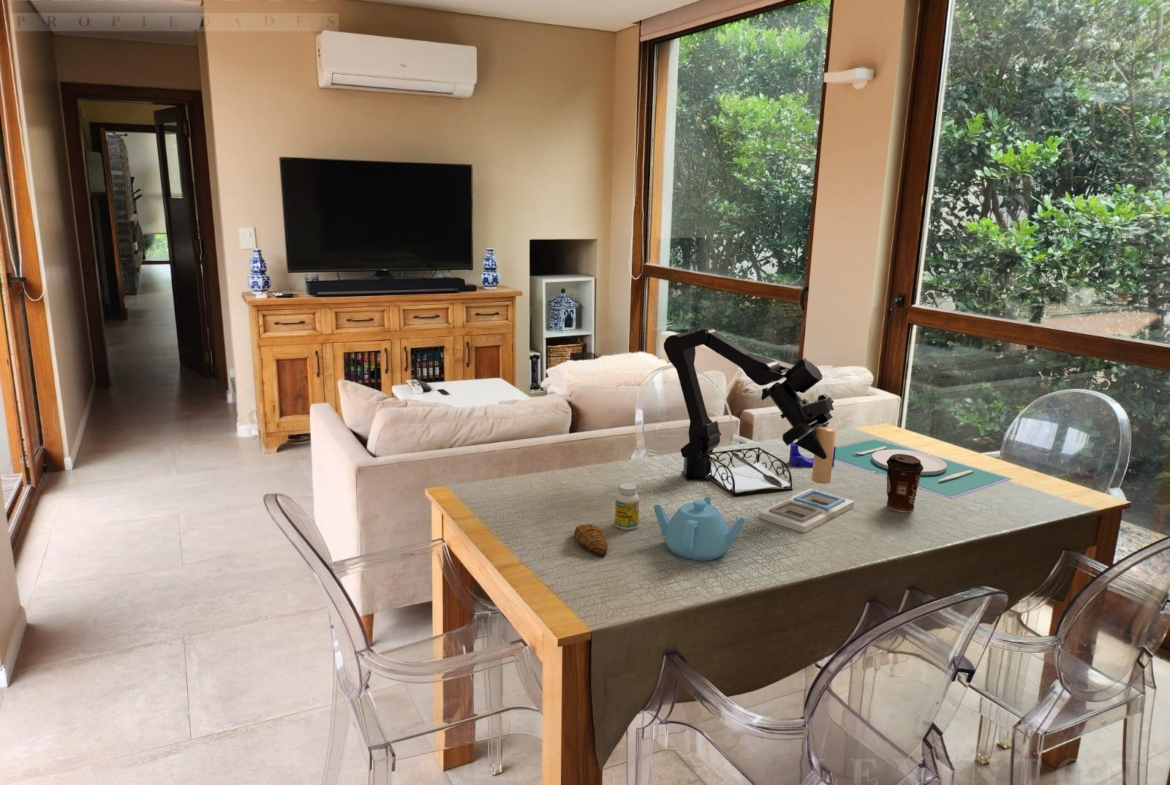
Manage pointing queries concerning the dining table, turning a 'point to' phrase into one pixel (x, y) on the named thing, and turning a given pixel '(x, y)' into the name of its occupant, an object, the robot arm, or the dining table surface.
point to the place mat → (934, 476)
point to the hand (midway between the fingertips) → (829, 456)
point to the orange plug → (824, 466)
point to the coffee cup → (902, 482)
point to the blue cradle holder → (802, 458)
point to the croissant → (591, 539)
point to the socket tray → (806, 510)
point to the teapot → (697, 530)
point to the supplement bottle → (627, 507)
